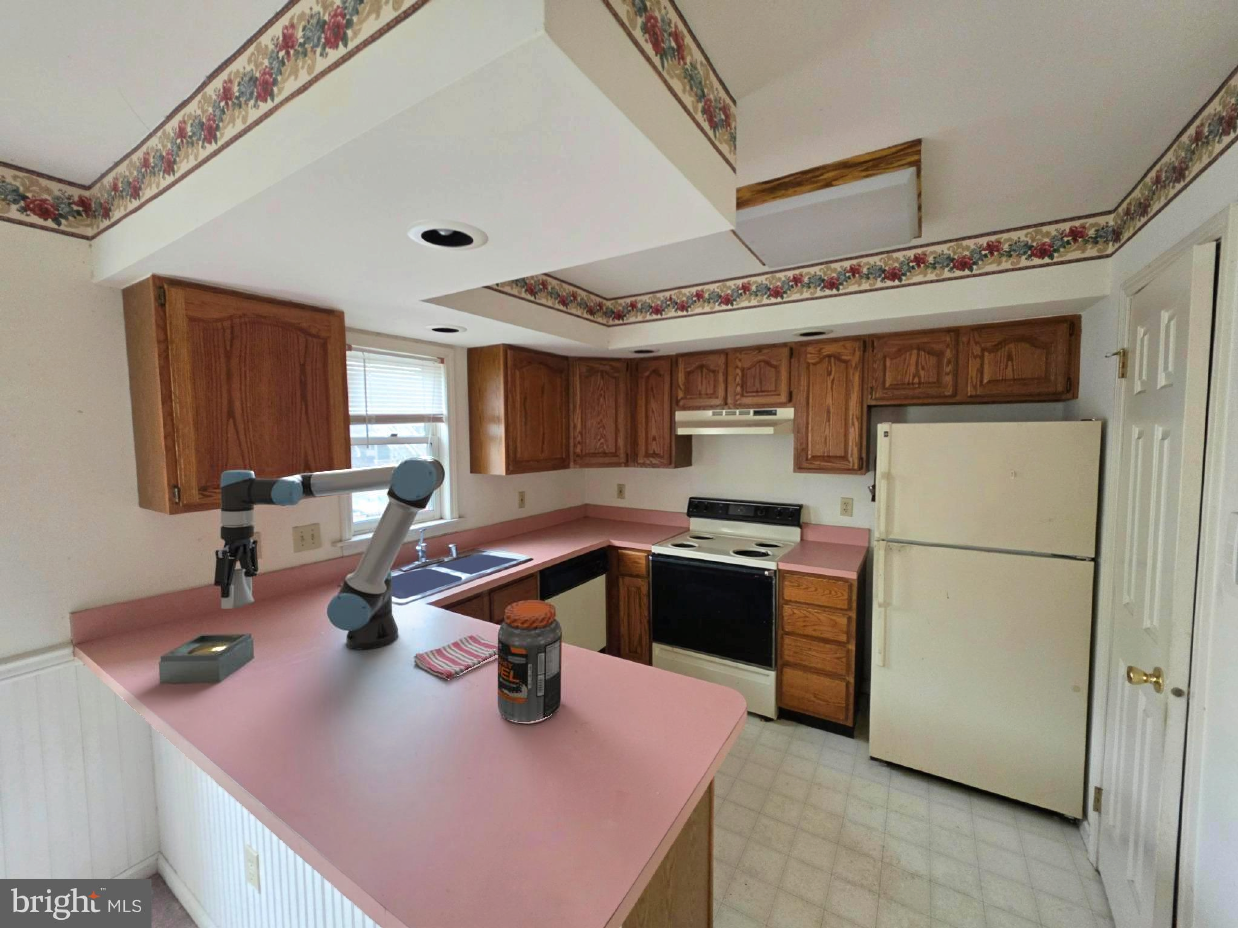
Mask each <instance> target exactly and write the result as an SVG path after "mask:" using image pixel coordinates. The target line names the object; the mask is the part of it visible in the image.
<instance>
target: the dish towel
mask: <svg viewBox="0 0 1238 928" xmlns="http://www.w3.org/2000/svg"><path fill="white" fill-rule="evenodd" d="M495 655H498V642H497V643H496V642H494V641H491V640H488V639H486V638H484V637H482V636H480V635H478V634H471V635H467V636H465V637H461V638H460V639H457V640H455V641H454V642H451V643H449V644H446V645H444V646H440V647H438V648H436V649H435V648H433V649H431V650H427V651H425V652H424V651H423V652H422V653H419V652H417V653H415V655H414V656H413V662H414V663H415V664H416V666H418V667H419V668H421V669H422V668H423V669H422V670H424V671H426V670H427V671H426V672H428V671H429V672H428V673H430V674H432V675H435V676H437V675H438V677H440V678H443V677H444V678H443V679H445V678H447V679H450V678H452V677H454V676H457V675H460V674H461V673H463V672H464V671H466V670H468V669H469V668H472V667H474V666H475V665H478V664H480V663H481V662H483V661H485V660H487V659H489V658H491V657H493V656H495ZM460 676H461V675H460ZM454 678H455V677H454ZM447 679H446V680H447ZM452 679H453V678H452Z"/></svg>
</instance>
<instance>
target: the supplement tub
mask: <svg viewBox="0 0 1238 928" xmlns="http://www.w3.org/2000/svg"><path fill="white" fill-rule="evenodd" d="M556 617H557V613H556V606H555V605H554V604H553V603H552V602H548V601H544V600H539V599H538V600H537V599H528V600H520V601H516V602H514V603H511V604H510V605H508V606H507V607H506V608H505V610H504V617H503V618H504V619H503V622H502V624H500V626H499V628H498V632H497V644H498V658H497V709H498V712H499V714H500V716H502V717H503V716H504V717H505V718H507V719H509V720H513V721H517V722H531V721H536V720H540V719H543V718H545V717H548V716H550V715H551V714H553V713H554V712H555V711H556V710H557V709H559V708H560V705H561V702H562V646H563V645H562V644H563V631H562V630H563V629H562V626H561V624H560V622H559V621H558V620H557V618H556ZM557 711H558V710H557ZM555 713H556V712H555ZM555 713H554V714H555ZM554 714H553V715H554ZM504 717H503V718H504ZM505 718H504V719H505Z"/></svg>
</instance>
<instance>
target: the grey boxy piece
mask: <svg viewBox="0 0 1238 928" xmlns="http://www.w3.org/2000/svg"><path fill="white" fill-rule="evenodd" d="M254 647H255V646H254V638H253V637H252V633H249V632H248V633H200V634H199V635H197V636H195V637H193V638H192V639H189V640H187V641H186V642H184V643H183V644H181V645H178V646H177V647H175V648H173V649H172V650H170V651H168V652H166V653H164V654H163V655H161V656H160V661H158V673H159V685H160V684H166V685H167V684H195V683H196V684H200V683H201V684H202V683H203V684H204V683H207V684H208V683H221V682H222V681H224V680H225V679H226V678H228V677H229V676H231V675H233V673H235V672H236V671H238V670H239V669H240V668H242V667H244V665H246V664H248V663H249V662H250V661H252V660H253V659H254V658H255V652H254V651H255V650H254V649H255V648H254Z"/></svg>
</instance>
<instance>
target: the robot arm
mask: <svg viewBox="0 0 1238 928" xmlns="http://www.w3.org/2000/svg"><path fill="white" fill-rule="evenodd" d="M220 475H221V477H220V485H219V488H220V524H221V526H220V539H221V540H222V541H224V544H223V548H222V549H216V550H215V552H214V554H215V570H214V571H215V572H214V580H213V581H214V583H213V585H214V586H215V587H220V597H221V598H220V599H221V604H222V605H221V609H225V610H226V609H227V610H231V609H234V608H235V607H234V585H231V583H232V579H233V575H234V571H235V569H236V566H237V563H238V562H239V566H240V569H245V572H244V578H245V582H246V585H247V587H248V589H249V591H250V593H251V595H252V596H253V578H254V577H257V576H258V571H259V561H258V559H259V558H258V540H257V539H252V538H253V537H254V536H255V525H254V524H253V523H254V522H255V505H256V506H257V505H263V506H264V505H265V506H280V507H285V506H296V505H298V504H299V502H301V500H302V499H307V498H308V499H309V498H317V497H323V496H324V497H325V496H327V497H328V496H333V495H344V494H353V493H354V494H355V493H364V492H373V491H374V492H375V491H383V490H384V491H385V490H387V492H386V495H387V498H388V502H387V505H386V506H385V508H384V510H383V513H382V515H381V517H380V519H379V521H378V524H376V525H377V526H376V528H375V530H374V531H373V533H372V536H371V538H370V540H369V542H368V544H367V546H366V547H365V549H364V552H363V554H362V557H361V558H360V560H359V563H358V564H357V566H356V567H355V570H354V571H353V572H352V573H349V574H346V577H345V578H344V580H343V582H342V584H341V586H340V588H339V591H338V592H337V594H336V595H334V596H333V597H332V598H331V599H330V601H329V603H328V604H327V607H326V615H327V618H328V619H329V622H330V623H331V624H332V625H333V626H334V627H335V628H336V629H339V630H342V631H347V633H346V639H345V640H346V646H347V647H348V648H350V649H353V650H369V649H370V650H371V649H377V648H381V647H384V646H388V645H389V644H392V643H393V642H395V641H396V640H397V639H398V638H399V628H398V625H397V623H396V622H397V621H396V620H395V618H394V614H393V582H392V581H393V578H392V576H393V575H392V571H390V570H391V568H392V566H393V564H394V562H395V560H396V558H397V556H398V554H399V551H400V550H401V548H402V545H403V544H404V541H405V539H406V537H407V535H408V533H409V531H410V529H411V527H412V525H413V523H414V521H415V519H416V517H417V515H418V514H419V513H418V512H420V511H423V510H425V509H426V508H427V507H428V504H429V502H430V501H431V498H432V496H433V494H434V492H435V491H436V490H438V489H439V488H440V487H441V486H442V484H443V483H444V481H445V476H446V471H445V468H444V465H443V464H442V463H441V462H440V460H439V459H438V458H436V457H433V456H430V455H421V456H416V457H410V458H407V459H405V460H400V461H399V462H398V464H389V465H380V466H379V465H378V466H369V467H360V468H349V469H340V470H330V471H329V470H328V471H322V472H321V471H320V472H312V473H306V472H304V473H297V474H294V475H290V476H289V475H288V476H283V477H279V478H260V477H259V478H258V477H256V476H255V472H254V471H253V470H248V469H231V470H229V469H228V470H225V471H223V472H222V473H221V474H220Z"/></svg>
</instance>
